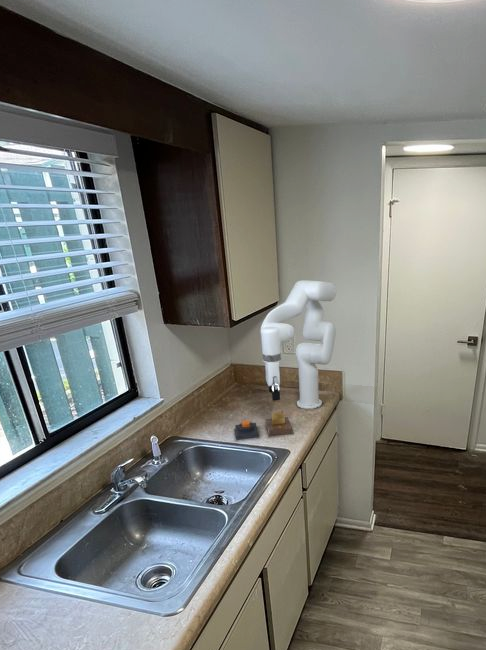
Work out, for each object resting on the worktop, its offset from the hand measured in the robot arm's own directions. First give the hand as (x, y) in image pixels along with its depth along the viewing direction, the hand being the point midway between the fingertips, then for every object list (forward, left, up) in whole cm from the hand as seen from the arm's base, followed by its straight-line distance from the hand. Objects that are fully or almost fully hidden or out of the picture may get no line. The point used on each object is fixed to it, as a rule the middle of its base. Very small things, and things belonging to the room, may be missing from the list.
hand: (274, 396), depth 186 cm
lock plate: (0, +1, -16) cm, 16 cm away
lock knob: (0, +1, -13) cm, 13 cm away
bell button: (0, -13, -13) cm, 18 cm away
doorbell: (0, -13, -16) cm, 21 cm away
